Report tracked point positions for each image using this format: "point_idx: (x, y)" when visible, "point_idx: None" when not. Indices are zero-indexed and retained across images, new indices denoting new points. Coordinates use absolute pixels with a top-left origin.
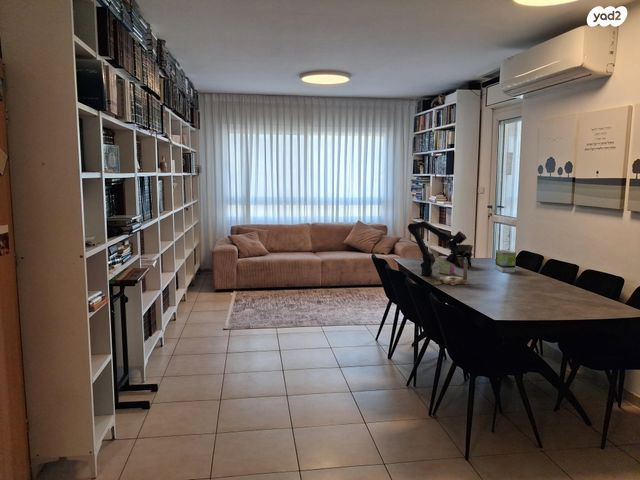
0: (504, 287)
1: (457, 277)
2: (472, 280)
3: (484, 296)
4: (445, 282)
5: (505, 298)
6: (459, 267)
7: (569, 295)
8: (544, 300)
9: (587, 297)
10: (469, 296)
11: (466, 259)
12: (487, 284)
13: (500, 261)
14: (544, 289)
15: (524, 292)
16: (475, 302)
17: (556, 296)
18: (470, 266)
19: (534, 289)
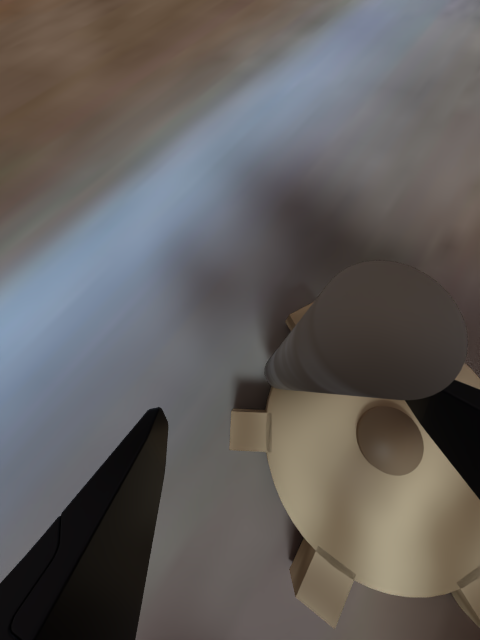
0: (137, 184)
1: (308, 476)
2: None
3: (358, 81)
4: None
5: (290, 46)
6: None
7: (29, 34)
8: (174, 9)
9: (7, 10)
10: (429, 94)
11: (352, 328)
12: (165, 272)
13: None
14: (7, 111)
15: (137, 93)
16: (445, 30)
17: (84, 33)
18: (167, 421)
19: (45, 121)
